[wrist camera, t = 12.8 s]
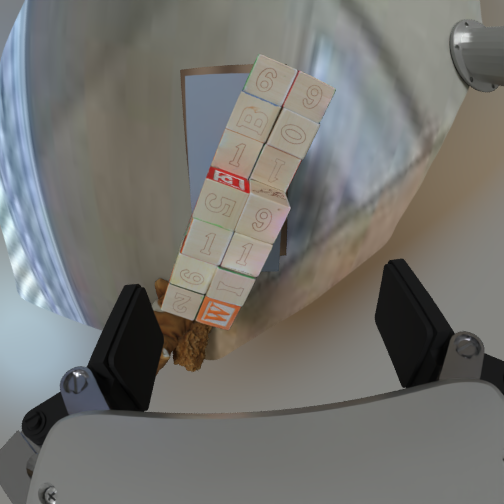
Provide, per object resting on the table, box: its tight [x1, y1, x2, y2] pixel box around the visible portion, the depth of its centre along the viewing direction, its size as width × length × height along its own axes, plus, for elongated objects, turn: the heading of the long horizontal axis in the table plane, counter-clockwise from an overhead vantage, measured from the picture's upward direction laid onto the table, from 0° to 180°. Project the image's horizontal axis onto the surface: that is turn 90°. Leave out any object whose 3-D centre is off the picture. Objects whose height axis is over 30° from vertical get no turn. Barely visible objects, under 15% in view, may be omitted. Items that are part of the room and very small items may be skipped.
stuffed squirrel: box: [152, 278, 212, 375], centre depth 46 cm, size 10×14×13 cm
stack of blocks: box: [161, 54, 336, 330], centre depth 25 cm, size 21×6×12 cm, turn 157°
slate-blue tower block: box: [185, 73, 281, 272], centre depth 33 cm, size 10×23×4 cm, turn 0°
